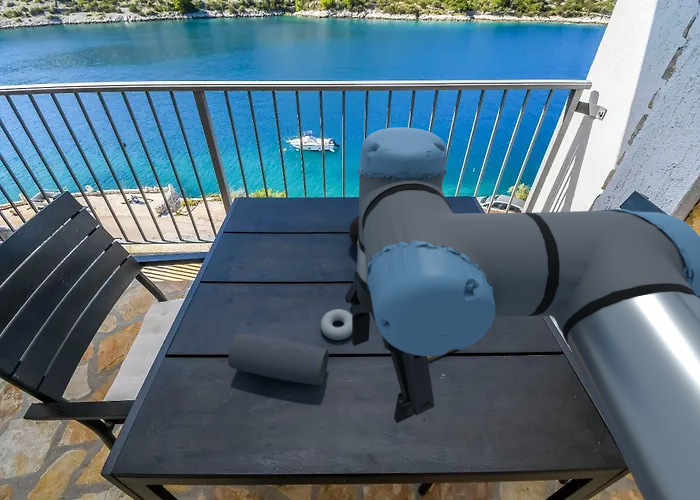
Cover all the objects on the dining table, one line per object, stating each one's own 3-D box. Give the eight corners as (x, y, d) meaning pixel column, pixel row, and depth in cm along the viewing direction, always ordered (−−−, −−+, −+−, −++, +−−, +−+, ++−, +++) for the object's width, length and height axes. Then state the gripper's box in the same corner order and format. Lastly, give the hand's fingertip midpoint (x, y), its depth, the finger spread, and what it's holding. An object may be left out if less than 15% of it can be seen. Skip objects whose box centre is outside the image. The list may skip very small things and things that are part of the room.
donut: (351, 346, 94) (359, 317, 102) (351, 338, 92) (359, 309, 100) (316, 339, 96) (326, 311, 104) (315, 331, 94) (325, 303, 101)
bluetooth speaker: (329, 362, 90) (328, 339, 84) (320, 396, 83) (317, 373, 77) (248, 347, 94) (240, 323, 87) (232, 378, 87) (223, 354, 80)
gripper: (495, 344, 31) (452, 444, 45) (369, 209, 49) (365, 310, 62) (426, 376, 29) (401, 472, 42) (320, 222, 47) (326, 324, 60)
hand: (380, 375), depth 52 cm, fingers open, 13 cm apart
